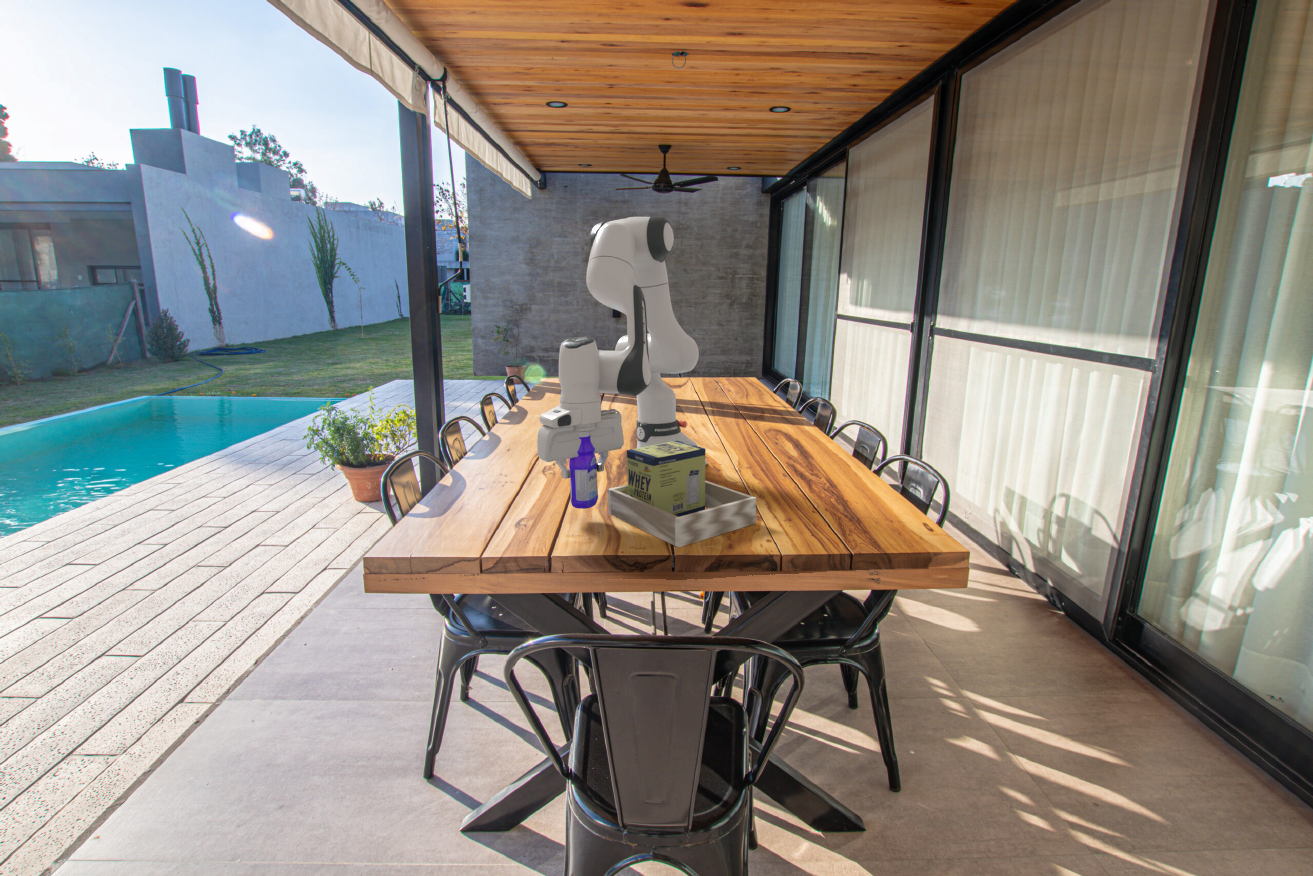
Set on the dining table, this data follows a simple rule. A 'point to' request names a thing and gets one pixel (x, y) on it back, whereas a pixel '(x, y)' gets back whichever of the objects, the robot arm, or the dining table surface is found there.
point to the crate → (721, 518)
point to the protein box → (668, 476)
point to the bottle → (584, 474)
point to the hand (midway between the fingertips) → (583, 474)
